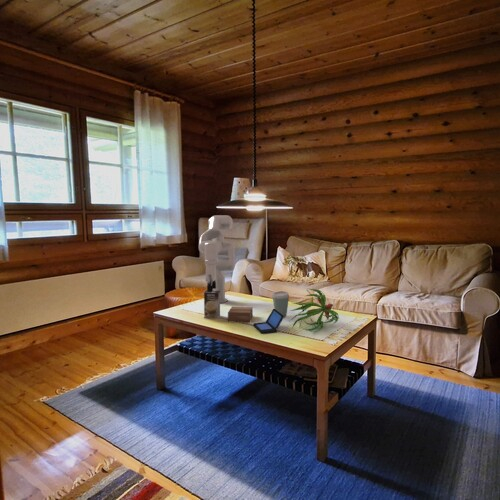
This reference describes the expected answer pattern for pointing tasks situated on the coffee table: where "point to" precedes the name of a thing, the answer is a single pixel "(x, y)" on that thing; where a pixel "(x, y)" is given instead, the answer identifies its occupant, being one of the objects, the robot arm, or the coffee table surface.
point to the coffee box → (211, 304)
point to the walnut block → (240, 314)
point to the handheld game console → (270, 323)
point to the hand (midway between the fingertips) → (211, 290)
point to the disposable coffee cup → (281, 302)
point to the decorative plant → (316, 311)
